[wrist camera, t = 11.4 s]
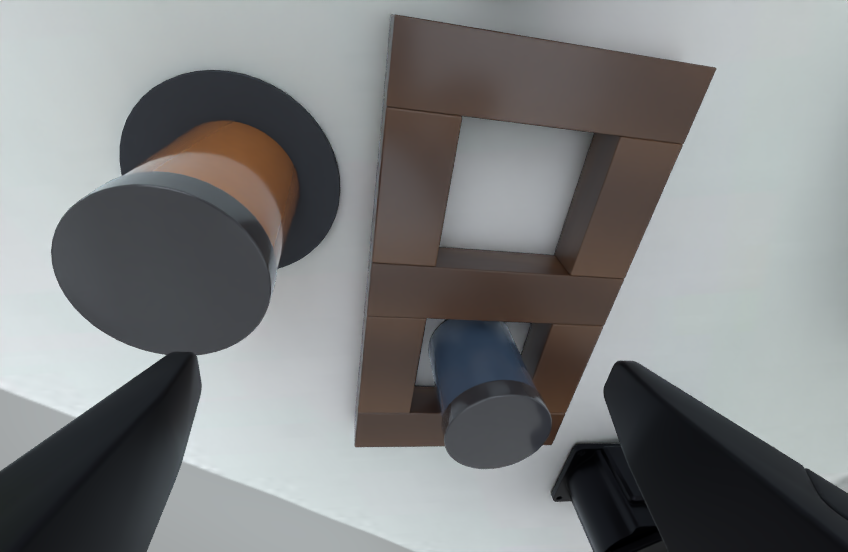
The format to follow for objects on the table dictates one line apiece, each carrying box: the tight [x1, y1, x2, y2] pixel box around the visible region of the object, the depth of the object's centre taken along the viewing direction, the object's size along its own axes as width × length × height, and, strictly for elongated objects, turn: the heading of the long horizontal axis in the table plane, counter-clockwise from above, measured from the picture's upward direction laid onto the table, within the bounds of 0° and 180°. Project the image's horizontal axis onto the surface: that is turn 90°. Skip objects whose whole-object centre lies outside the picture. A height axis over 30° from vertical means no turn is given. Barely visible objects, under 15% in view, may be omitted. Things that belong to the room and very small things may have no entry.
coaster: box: [120, 70, 340, 269], centre depth 19 cm, size 9×9×1 cm
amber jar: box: [51, 120, 300, 355], centre depth 16 cm, size 6×6×8 cm
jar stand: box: [354, 14, 716, 447], centre depth 23 cm, size 23×13×2 cm, turn 172°
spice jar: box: [428, 319, 552, 469], centre depth 23 cm, size 5×5×6 cm
